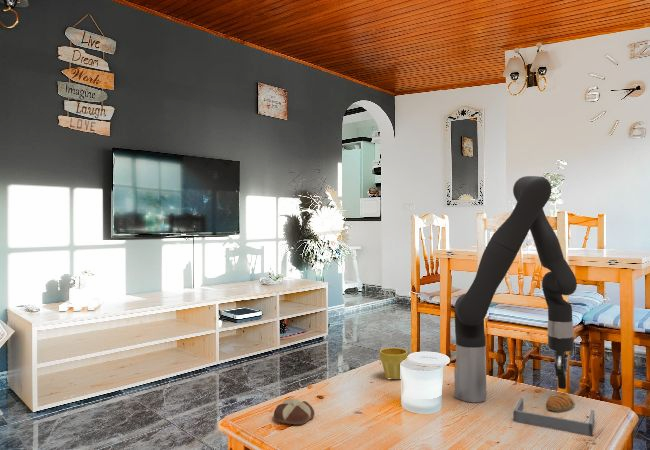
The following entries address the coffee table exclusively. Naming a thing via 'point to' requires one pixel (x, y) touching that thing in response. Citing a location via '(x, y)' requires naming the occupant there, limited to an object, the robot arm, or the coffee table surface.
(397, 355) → the plant pot
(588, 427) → the box
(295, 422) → the bread
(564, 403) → the pastry
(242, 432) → the coffee table surface
